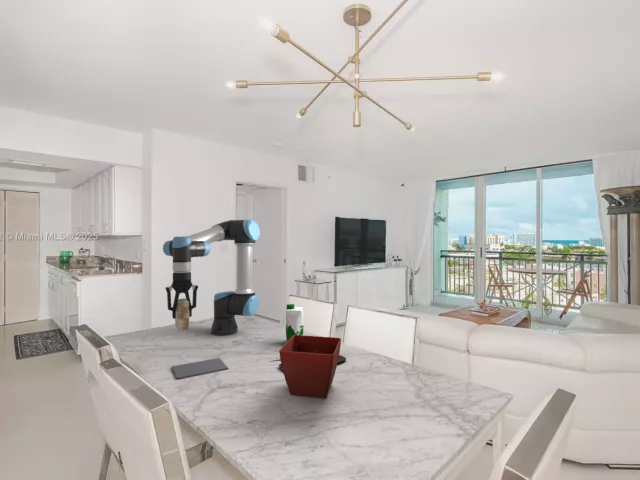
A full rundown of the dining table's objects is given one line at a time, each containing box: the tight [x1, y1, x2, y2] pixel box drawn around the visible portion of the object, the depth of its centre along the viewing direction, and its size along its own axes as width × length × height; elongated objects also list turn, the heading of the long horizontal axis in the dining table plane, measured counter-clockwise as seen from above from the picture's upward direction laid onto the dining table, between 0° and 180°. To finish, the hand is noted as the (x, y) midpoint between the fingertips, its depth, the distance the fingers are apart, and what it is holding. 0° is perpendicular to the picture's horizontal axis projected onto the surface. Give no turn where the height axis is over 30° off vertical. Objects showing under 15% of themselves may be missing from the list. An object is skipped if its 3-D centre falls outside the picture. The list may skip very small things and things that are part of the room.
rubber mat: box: [170, 357, 229, 380], centre depth 146 cm, size 20×14×1 cm
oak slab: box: [176, 297, 190, 332], centre depth 152 cm, size 4×9×12 cm, turn 30°
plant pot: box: [278, 334, 342, 400], centre depth 126 cm, size 19×19×17 cm
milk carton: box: [285, 303, 304, 343], centre depth 180 cm, size 9×9×20 cm
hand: (182, 324), depth 152 cm, fingers closed on oak slab, 4 cm apart
